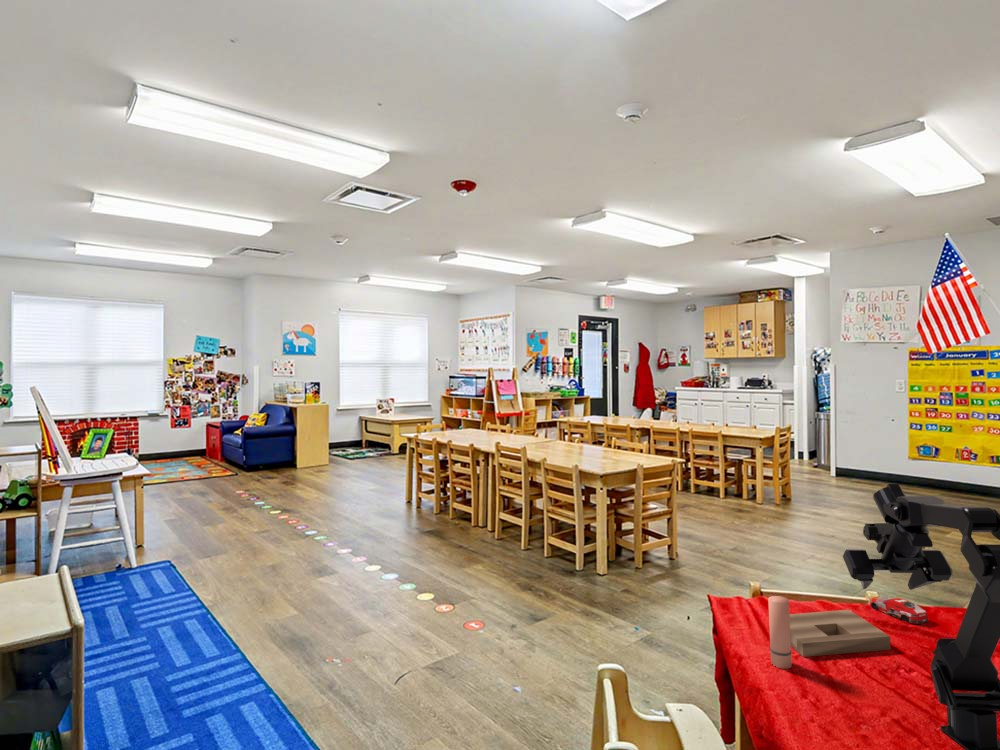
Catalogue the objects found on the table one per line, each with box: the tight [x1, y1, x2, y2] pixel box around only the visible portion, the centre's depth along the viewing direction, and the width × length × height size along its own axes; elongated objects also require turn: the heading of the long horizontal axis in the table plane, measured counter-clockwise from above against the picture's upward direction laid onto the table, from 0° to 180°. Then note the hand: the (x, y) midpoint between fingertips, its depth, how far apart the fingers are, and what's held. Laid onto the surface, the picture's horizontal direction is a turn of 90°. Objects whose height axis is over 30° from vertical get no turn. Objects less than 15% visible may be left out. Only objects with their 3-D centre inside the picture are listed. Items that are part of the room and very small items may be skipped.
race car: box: [870, 596, 929, 625], centre depth 146 cm, size 13×5×4 cm, turn 18°
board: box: [789, 609, 891, 658], centre depth 136 cm, size 14×20×3 cm
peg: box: [767, 595, 792, 670], centre depth 126 cm, size 4×4×14 cm
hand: (886, 587), depth 127 cm, fingers open, 9 cm apart
